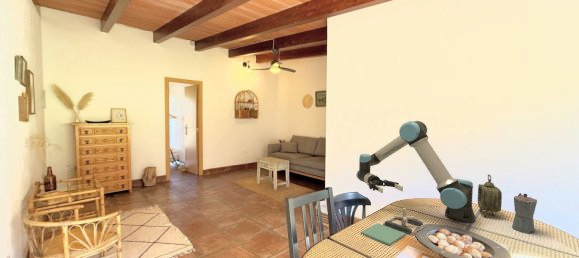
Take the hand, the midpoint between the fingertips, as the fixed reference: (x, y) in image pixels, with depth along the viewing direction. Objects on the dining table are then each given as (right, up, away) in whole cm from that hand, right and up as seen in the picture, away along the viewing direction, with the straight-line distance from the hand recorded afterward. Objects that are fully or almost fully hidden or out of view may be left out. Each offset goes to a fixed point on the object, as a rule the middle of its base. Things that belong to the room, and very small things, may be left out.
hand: (392, 189), depth 152 cm
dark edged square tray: (+4, -18, -8) cm, 20 cm away
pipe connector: (+3, -18, -9) cm, 20 cm away
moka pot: (+64, -18, -14) cm, 68 cm away
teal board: (-12, -19, -18) cm, 29 cm away
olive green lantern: (+61, -17, +6) cm, 64 cm away
